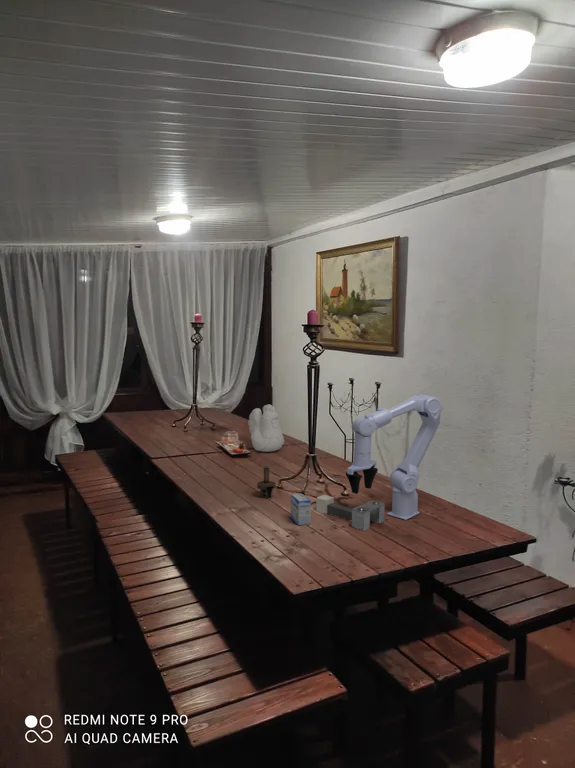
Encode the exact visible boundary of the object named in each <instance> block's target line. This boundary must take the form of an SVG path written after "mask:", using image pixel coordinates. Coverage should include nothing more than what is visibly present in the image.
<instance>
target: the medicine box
mask: <svg viewBox="0 0 575 768" xmlns="http://www.w3.org/2000/svg"><path fill="white" fill-rule="evenodd" d="M311 506H312V501H311V500H310V498H308V497H307V496H306V495H304V494H303V493H294V494H293V493H292V494H291V496H290V519H291V520H292V519H293V520H294V521H295V522H294V521H293V520H292V521H293V522H294V523H295V524H296V525H298V526H299V525H301V526H308V524H309V525H310V524H311V513H312V512H311V510H312V507H311Z"/></svg>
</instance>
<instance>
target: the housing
mask: <svg viewBox="0 0 575 768" xmlns="http://www.w3.org/2000/svg"><path fill="white" fill-rule="evenodd" d="M385 505H386V504H385V503H384V502H381V501H378V500H370V501H367V502H365V503H363V504H361V505H358V506H355V507H353V508H352V521H351V528H353V527H354V528H353V529H356V528H357V530H359V529H360V530H359V531H362V530H363V532H365V531H368V530H369V529H370V525H371V524H370V523H371V521H372V523H374V522H375V523H374V524H378V523H380V524H382V523H384V522H385V508H386V507H385ZM381 522H382V523H381Z"/></svg>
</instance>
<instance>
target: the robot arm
mask: <svg viewBox="0 0 575 768" xmlns="http://www.w3.org/2000/svg"><path fill="white" fill-rule="evenodd" d="M443 409H444V407H443V405H442V402H441V400H440V399H439V398H438V397H437V396H432V395H427V394H424V393H417V394H416V395H411V396H410V397H409V398H407V399H405V400H404V401H402V402H400V403H398V404H396V405H394V406H393V407H392V406H391V407H390V408H389V409H388V408H385V407H382V408H381V407H379V408H376V411H373V412H371V413H366V414H365V415H364V416H358V417H357V418H355V419H354V420H353V422H352V424H351V428H352V431H353V432H354V438H353V439H354V440H353V442H354V444H353V445H354V446H353V449H354V450H353V462H351V465H350V466H349V467H347V469H346V472H345V477H346V478H347V480H348V482H349V485H350V489H351V493H352V494H356V495H357V494H359V491H360V482H361V479H362V477H363V481H364V484H363V485H364V488H365V489H368V490H369V489H370V490H371V489H372V485H373V482H374V479H375V476H376V475H377V474H378V470H379V469H378V468H377V461H376V460H373V459H372V457H371V456H372V435H373V434H374V432H375V430H378V429H380V428H382V427H385V426H387V425H389V424H391V423H392V421H393V419H394V418H396V417H399V416H402V415H405V414H407V413H410V412H412V411H415V412H417V413H418V415H419V416H420V419H421V422H422V424H421V425H420V426H419V429H418V431H417V434H416V436H415V438H414V439H413V442H412V443H411V446H410V448H409V450H408V452H407V454H406V456H405V458H404V459H403V462H401V463H398V464H397V465H396V468H395V469H394V470H392V471H391V473H390V474H389V481H390V484H391V485H392V498H391V499H392V501H391V502H392V503H391V511H388V512H387V513H386V515H388V516H391V517H395V518H398V519H401V520H405V521H407V520H408V519H411V518H413V517H415V516H417V515H419V514H420V511H419V510H418V504H419V502H418V501H419V500H418V499H419V495H418V493H417V491H416V489H417V488H418V483H419V481H418V480H419V478H420V472H419V467H420V465H421V463H422V462H423V459H424V457H425V455H426V454H427V453H426V452H427V451H428V448H429V447H430V445H431V443H432V441H433V438H434V436H435V434H436V432H437V430H438V428H439V426H440V422H441V413H442V410H443ZM359 472H362V473H363V475H362V474H359Z"/></svg>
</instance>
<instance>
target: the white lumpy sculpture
mask: <svg viewBox="0 0 575 768" xmlns="http://www.w3.org/2000/svg"><path fill="white" fill-rule="evenodd" d="M262 412H263V413H262ZM247 423H248V428H249V433H250V434H251V435H250V440H251V443H252V446H253V448H254V449H255V450H256V451H258V452H263V453H264V452H268V453H269V452H275V451H278V450H280V449H281V448H282V446H283V445H284V444H285V438H284V435H283V431H282V428H281V425H280V416H279V413H278V411H277V410H276V408H275V406H273V405H272V404H269V403H268V404H266V405H264V406H263V407H262V410H261V408H259V407H258V408H257V407H256V408H254V409H253V410H252V411H251V412H250V414H249V417H248V422H247Z"/></svg>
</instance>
